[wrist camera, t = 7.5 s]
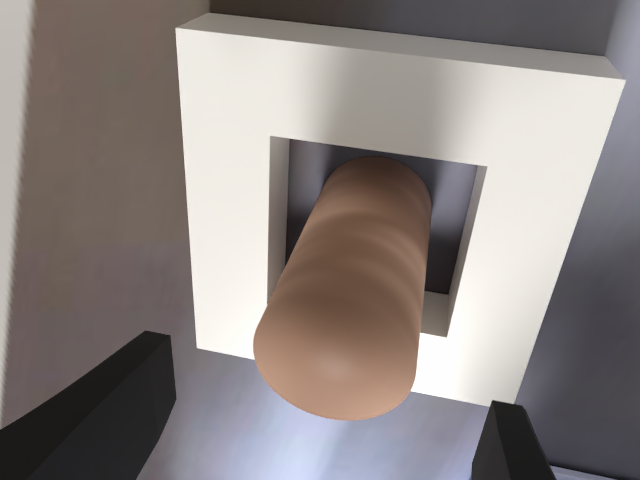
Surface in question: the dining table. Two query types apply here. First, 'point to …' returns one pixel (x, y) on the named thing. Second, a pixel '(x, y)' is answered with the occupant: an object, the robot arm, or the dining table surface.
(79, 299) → the dining table surface
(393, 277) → the peg
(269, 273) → the socket block
